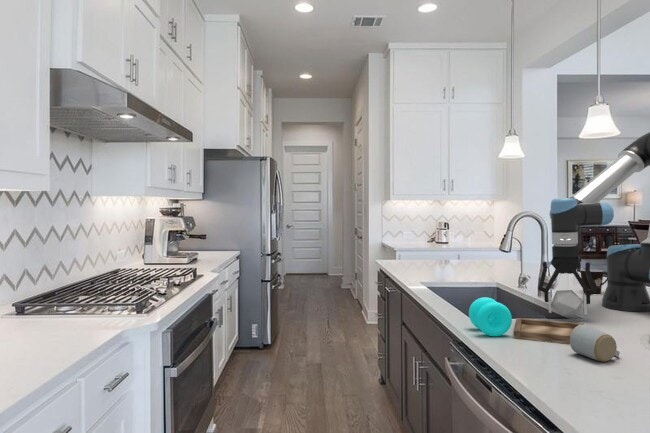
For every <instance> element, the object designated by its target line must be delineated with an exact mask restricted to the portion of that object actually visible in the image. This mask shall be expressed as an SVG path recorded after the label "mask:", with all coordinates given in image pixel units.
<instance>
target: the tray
mask: <svg viewBox="0 0 650 433" xmlns="http://www.w3.org/2000/svg"><path fill="white" fill-rule="evenodd" d="M578 325H585V323H583V322H569V321H557V320H548V319H535V318H525V317H524V318H523V317H515V324H514V328H513V339H518V340H529V341H538V342H545V341H547V343H555V342H556V344H564V343H565V344H567V345H570V335H571V332H572V331H573V329H574V328H575V327H577V326H578Z"/></svg>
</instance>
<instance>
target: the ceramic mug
mask: <svg viewBox="0 0 650 433" xmlns="http://www.w3.org/2000/svg"><path fill="white" fill-rule="evenodd" d="M569 345H570V348H571V350H572V351H573V352H574V353H577V354H578V355H582V356H584V357H587V358H588V359H589V358H590V359H591V360H592V359H593V360H594V361H598V362H602V363H603V362H604V363H605V362H609V361H610V360H613V358H614V357H616V358H619V357H620V356H619V355H620V351H619V350H617V342H616V340H615V338H614V337H613V336H611V335H610V334H609V333H608V332H604V331H603V330H602V331H601V330H599V329H597V328H594V327H591V326H589V325H588V324H584V325H578V326H577V327H575V328H574V329H573V331H572V332H571V335H570V344H569Z"/></svg>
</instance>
